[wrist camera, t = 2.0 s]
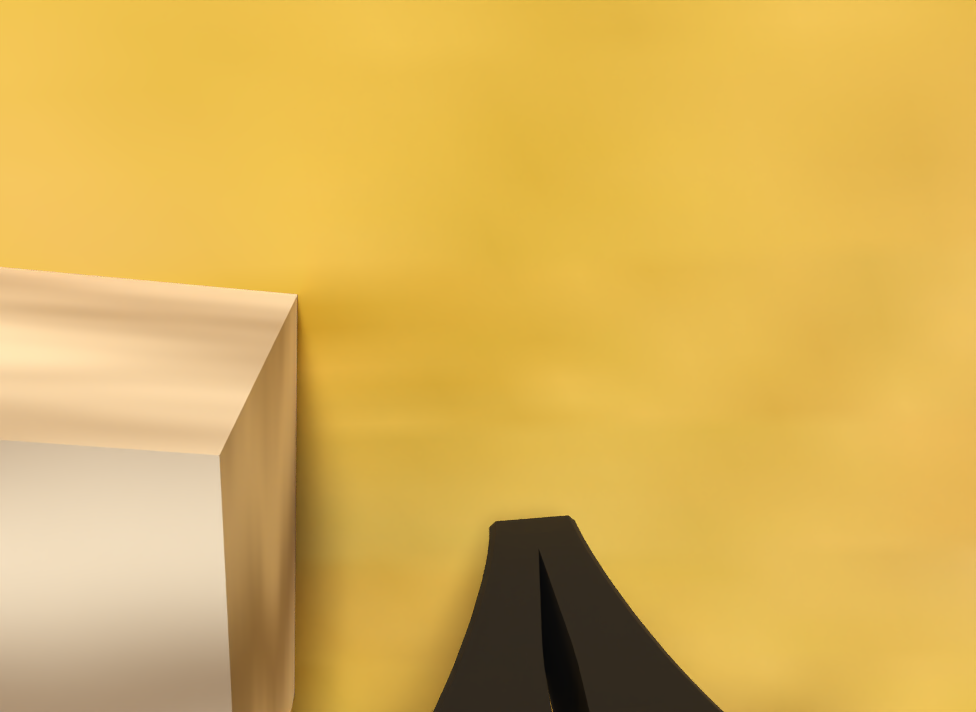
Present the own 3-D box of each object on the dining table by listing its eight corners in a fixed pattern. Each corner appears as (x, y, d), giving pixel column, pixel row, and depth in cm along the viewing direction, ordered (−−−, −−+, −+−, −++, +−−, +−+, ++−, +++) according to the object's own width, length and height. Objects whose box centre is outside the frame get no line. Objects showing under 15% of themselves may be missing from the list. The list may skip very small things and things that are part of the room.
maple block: (296, 686, 17) (243, 932, 13) (-21, 673, 16) (-196, 930, 12) (299, 290, 13) (220, 455, 8) (-136, 249, 12) (-482, 405, 7)
